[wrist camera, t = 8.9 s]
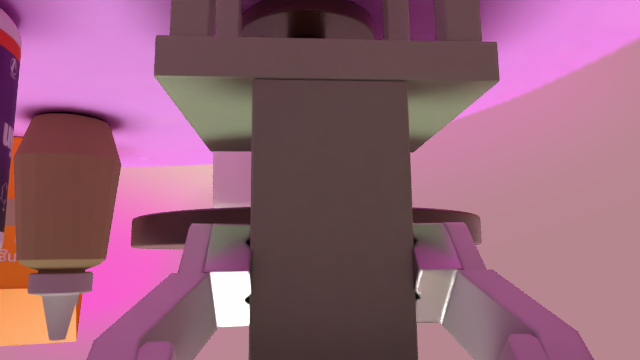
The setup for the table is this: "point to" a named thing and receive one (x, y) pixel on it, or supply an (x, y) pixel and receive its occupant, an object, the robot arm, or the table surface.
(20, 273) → the orange juice
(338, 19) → the little table
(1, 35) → the pill bottle
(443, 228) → the robot arm
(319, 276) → the chair
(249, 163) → the eye dropper bottle
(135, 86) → the table surface
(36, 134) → the squeeze bottle
